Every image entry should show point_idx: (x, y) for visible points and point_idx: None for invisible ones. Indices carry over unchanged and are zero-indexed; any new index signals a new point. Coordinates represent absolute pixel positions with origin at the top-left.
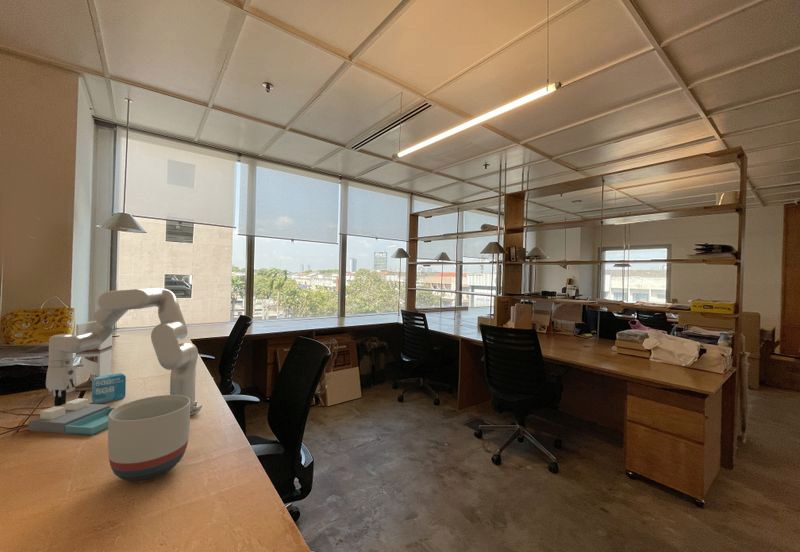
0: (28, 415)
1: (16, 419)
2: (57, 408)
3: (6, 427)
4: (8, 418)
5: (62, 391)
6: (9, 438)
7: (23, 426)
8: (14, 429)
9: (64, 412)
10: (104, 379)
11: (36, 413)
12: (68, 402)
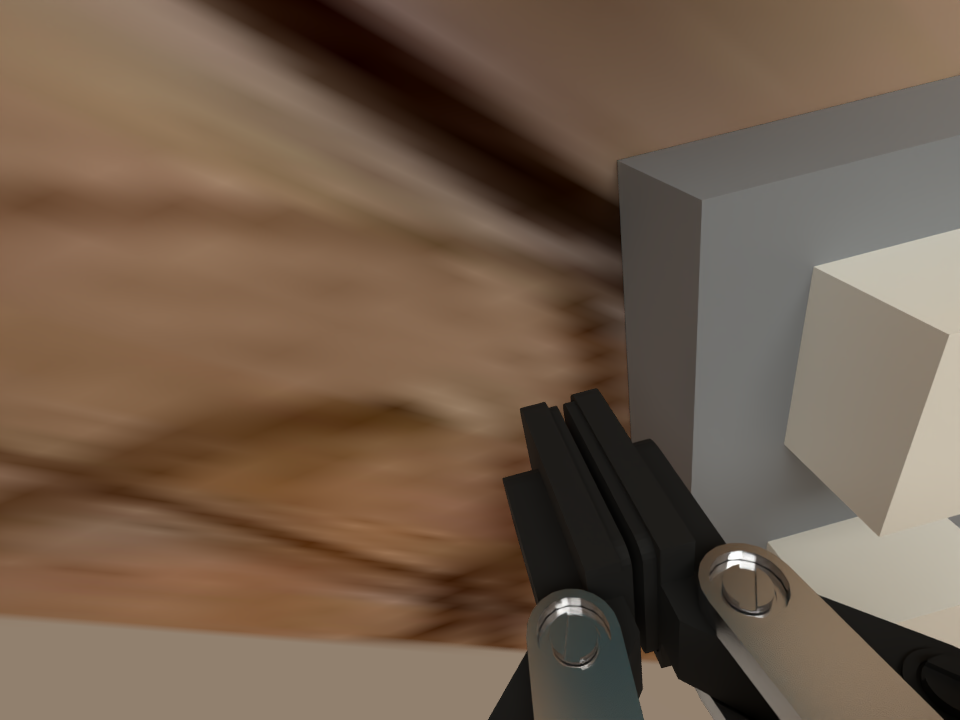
0: (106, 502)
1: (171, 581)
2: (953, 636)
3: (374, 642)
4: (39, 610)
5: (635, 687)
6: (653, 651)
7: (491, 583)
8: (496, 621)
9: (948, 528)
10: None
11: (91, 440)
12: (925, 513)
